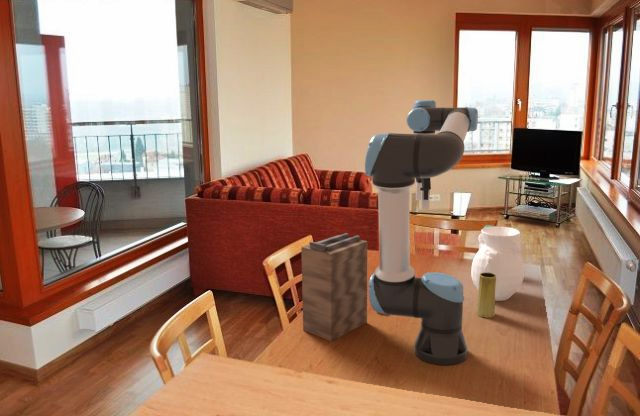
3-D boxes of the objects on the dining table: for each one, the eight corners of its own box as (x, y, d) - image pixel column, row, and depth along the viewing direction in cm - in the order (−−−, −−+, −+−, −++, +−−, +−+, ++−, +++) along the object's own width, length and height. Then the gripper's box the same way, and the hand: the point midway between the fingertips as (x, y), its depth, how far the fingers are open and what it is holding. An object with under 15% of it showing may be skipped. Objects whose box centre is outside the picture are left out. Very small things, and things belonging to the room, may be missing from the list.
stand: (339, 313, 195) (338, 229, 188) (366, 322, 187) (367, 235, 180) (303, 330, 182) (301, 240, 175) (331, 341, 174) (330, 247, 167)
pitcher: (533, 298, 206) (538, 231, 200) (500, 309, 196) (504, 240, 190) (492, 283, 221) (495, 221, 215) (459, 293, 211) (462, 229, 205)
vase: (498, 314, 192) (500, 274, 189) (489, 319, 188) (492, 279, 185) (481, 309, 196) (483, 270, 193) (473, 314, 192) (475, 275, 189)
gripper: (440, 149, 185) (438, 212, 189) (429, 141, 209) (427, 197, 214) (417, 149, 185) (416, 212, 190) (409, 141, 209) (407, 197, 214)
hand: (422, 204), depth 202 cm, fingers open, 13 cm apart
